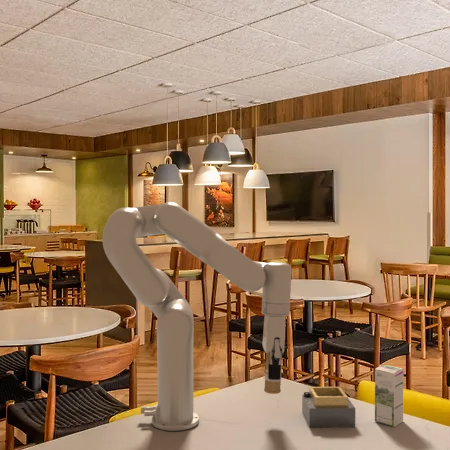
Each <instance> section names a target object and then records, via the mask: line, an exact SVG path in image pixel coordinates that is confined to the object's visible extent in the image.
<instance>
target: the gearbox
mask: <svg viewBox="0 0 450 450" xmlns="http://www.w3.org/2000/svg"><path fill="white" fill-rule="evenodd" d="M301 397H302V398H301V402H302V403H301V405H302V406H301V411H302V412H301V413H302V415H303V417H304V419H305V421H306V423H307V425H308V427H309V428H310V429H314V428H315V429H316V428H322V429H323V428H325V429H326V428H356V407H355V406H354V404H353V403H352V402H351V400H350V399H349V397H348V395H347V394H346V393H345V391H344V390H343V389H342V388H341V386H309V387H308V391H304V392H303V394H302V396H301Z"/></svg>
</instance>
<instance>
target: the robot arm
mask: <svg viewBox="0 0 450 450" xmlns="http://www.w3.org/2000/svg"><path fill="white" fill-rule="evenodd" d="M160 235H165V236H166V237H168V238H169V239H171V240H172V241H173V242H175V243H176V244H177V245H179V246H180V247H182V248H183V249H185V250H186V251H188V252H189V253H190V254H192V256H194V257H196V258H197V259H199V260H200V261H201V262H202V263H204V264H206V265H207V266H209V267H210V268H212V269H214V270H215V271H216V272H217V273H219V274H221V276H223V277H224V278H226V279H227V280H229V281H230V282H231V283H233V284H234V285H235V286H236V287H238V288H240V289H241V290H243V291H245V292H247V293H254V292H255V293H256V292H257V291H260V290H261V289H262V292H261V293H262V297H261V314H262V315H264V319H263V332H262V348H263V351H264V352H265V354H266V353H268V352H270V364H269V369H268V379H272V380H280V377H281V378H282V370H281V354H282V355H283V354H284V352H285V345H286V344H285V343H286V342H285V341H286V317H288V316H290V315H291V313H290V312H291V291H292V290H291V289H292V287H291V286H292V267H291V265H290V264H289V263H286V262H281V261H277V262H276V261H274V262H272V261H270V262H262V261H256V260H252V259H251V258H250V257H248V256H247V255H245V254H244V253H243V252H241V251H240V250H238V249H237V248H236V247H234V246H233V245H232V244H231V243H229V242H228V241H227V240H226V239H225V238H224V237H223V236H222V235H221V234H220V233H218V232H217V231H216V230H214V229H213V228H212V227H210V226H209V225H207V224H206V223H205V222H203V221H201V220H200V218H198V217H196V216H195V215H194V214H192V213H190V212H189V211H188V210H187V209H185V208H184V207H182V206H181V205H179V204H178V203H176V202H174V201H173V202H171V201H168V202H164V203H161V204H160V203H159V204H153V205H152V204H151V205H146V206H145V205H143V206H135V207H133V206H132V207H126V206H125V207H120V208H118V209H115V210H114V212H112V213H111V214H110V216H109V217H108V218H107V221H106V222H105V225H104V228H103V232H102V238H101V239H102V246H103V247H102V248H103V250H104V253H105V255H106V257H107V259H108V261H109V262H110V264H111V265H112V267H113V268H114V270H115V271H116V272H117V274H118V275H119V276H120V277H121V279H122V280H123V282H124V283H125V285H126V286H127V287H128V289H129V290H130V291H131V293H132V294H133V296H134V297H135V299H136V301H138V302H139V303H140V304H141V305H143V306H145V307H146V308H147V307H148V308H149V309H150V311H151V312H152V313H153V315H154V316H155V317H156V318H157V321H156V343H157V345H156V346H157V347H156V352H157V354H156V355H157V356H156V357H157V359H156V361H157V362H156V365H157V402H156V404H152V406H147V405H145V406H144V405H143V406H140V414H141V415H143V414H144V415H143V416H144V417H151V425H152V426H153V427H154V428H157V429H159V430H162V431H170V432H177V431H178V432H180V431H185V430H189V429H193V428H194V427H196V426H198V424H199V422H200V416H199V414H197V413H196V412H195V411H194V336H195V335H194V333H195V332H194V331H195V330H194V329H195V323H194V322H195V321H194V320H195V319H194V313H193V311H194V310H193V308H192V307H191V305H190V303H189V301H187V299H186V298H185V297H184V296H183V294H182V293H181V292H180V289H178V287H177V286H176V284H175V283H174V282H173V281H172V279H171V278H170V277H169V275H167V273H165V272H164V271H163V270H162V269H159V268H156V267H155V266H154V265H153V263H152V262H151V261H150V260H149V258H148V257H147V255H146V254H145V253H144V251H143V250H142V249H141V248H140V246H139V244H138V243H137V238H141V237H142V238H143V237H151V236H160ZM272 350H274V352H272ZM272 355H274V356H273V357H272Z"/></svg>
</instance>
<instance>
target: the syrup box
mask: <svg viewBox="0 0 450 450" xmlns="http://www.w3.org/2000/svg"><path fill="white" fill-rule="evenodd" d="M404 379H405V378H404V368H403V367H402V368H401V367H397V366H392V365H387V364H383V365H379V366H378V367H376V368H374V422H375V423H379V424H382V425H386V426H389V427H394V428H395V427H396V426H399V425H400V424H401V423H403V422H404Z"/></svg>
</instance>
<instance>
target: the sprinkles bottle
mask: <svg viewBox="0 0 450 450" xmlns="http://www.w3.org/2000/svg"><path fill="white" fill-rule="evenodd" d="M272 352H274V350H272ZM273 356H274V355H272V357H273ZM282 359H283V353H282V354H281V371H282V370H283V369H282V365H283V364H282V363H283V360H282ZM269 364H270V352H268V353H266V352H265V368H264V369H265V370H264V388H263V390H264V392H265V394H271V395H278V394H280V393H281V392H282V390H281V381H282V376H281V377H280V380H272V379H268V369H269Z"/></svg>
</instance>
